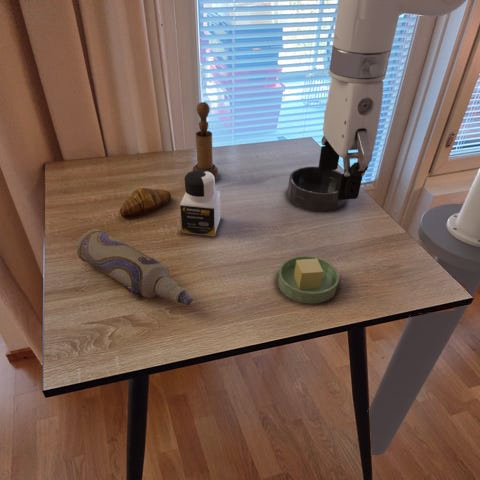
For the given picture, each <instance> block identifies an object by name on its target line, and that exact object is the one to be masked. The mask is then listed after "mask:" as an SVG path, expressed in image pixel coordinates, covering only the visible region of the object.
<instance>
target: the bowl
mask: <svg viewBox="0 0 480 480" xmlns="http://www.w3.org/2000/svg"><path fill="white" fill-rule="evenodd" d="M318 167H319V166H316V165H315V166H304V167H299V168H298V169H294V170H293V171H292V172H291V173H290V174H289V179H288V186H287V187H288V188H287V198H288V200H289V201H290V202H291V203H292V204H293V205H294V206H296V207H298V208H299V209H303V210H306V211H310V212H316V213H317V212H318V213H326V212H331V211H332V212H333V211H335V210H339V209H340V208H341V207H342V206H343V205H344V204H345V202H346V200H339V199H338V198H337V194H338V189H339V183H340V178H341V174H343V173H342V172H340V171H338V170H337V169H336V170H326V171H320V170H319V168H318Z"/></svg>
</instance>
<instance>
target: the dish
mask: <svg viewBox="0 0 480 480" xmlns="http://www.w3.org/2000/svg"><path fill="white" fill-rule="evenodd" d="M315 258H317V259H318V261H319V263H320V266H321V268H322V270H323V276H322V280H321V285H320V289H308V290H299V289H298V286H297V284H296V281H295V279H294V272H295V265H296V260H302V259H315ZM278 271H279V272H278V278H277V284H278V288H279V290H280V292H282V294H283V295H284V296H286V297H287V298H288V299H290V300H293V301H294V302H297V303H300V304H301V303H302V304H307V305H315V304H322V303H325V302H327V301H329V300H331V299H332V298H333V297H334V296H335V294H336V293H337V290H338V286H339V282H340V273H339V271H338V270H337V267H335V266H334V265H333V264H332V263H330V262H329V261H327V260H325V259H323V258H321V257H317V256H311V255H299V256H298V255H297V256H294V257H290V258H288V259H287V260H285V261H284V262H282V264H281V265H280V267H279V269H278Z"/></svg>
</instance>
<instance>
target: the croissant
mask: <svg viewBox="0 0 480 480" xmlns="http://www.w3.org/2000/svg"><path fill="white" fill-rule="evenodd" d="M171 198H172V194H171V192H170V191H168V190H165V189H161V188H160V189H159V188H147V187H140V188H136V189H135V190H133V191H132V193H131V194H130V196H129V197H128V198H127V200H125V201H124V202H123V204H122V205H121V207H120V208H119V214H120V216H121V217H122V218H132V217H135V216H139V215H141V214H145V213H149V212H153V211H155V210H156V209H157V208H159V207H161V206H163V205H165V204H166V203H168V202H169V201H170V200H171Z"/></svg>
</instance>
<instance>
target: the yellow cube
mask: <svg viewBox="0 0 480 480" xmlns="http://www.w3.org/2000/svg"><path fill="white" fill-rule="evenodd" d="M317 258H318V257H317ZM317 258H315V259H302V260H296V265H295V272H294V279H295V281H296V284H297V286H298V289H299V290H308V289H320V285H321V280H322V276H323V270H322V268H321V266H320V263H319V261H318V259H317Z"/></svg>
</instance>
